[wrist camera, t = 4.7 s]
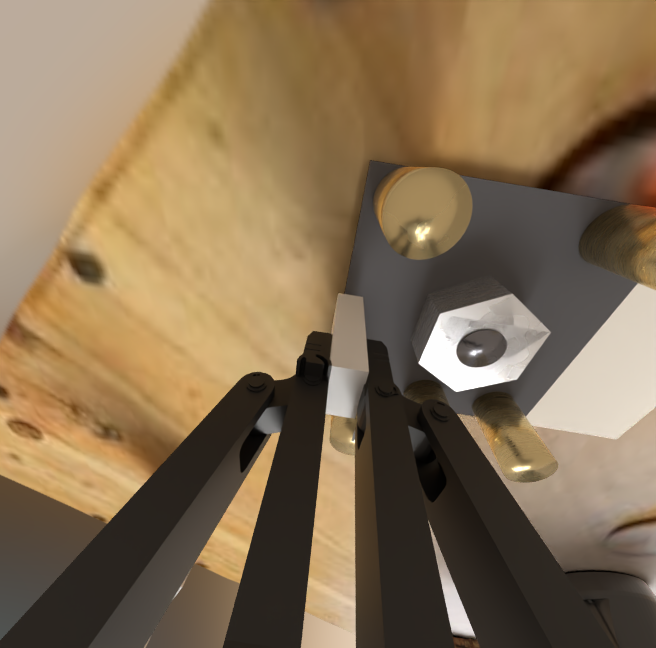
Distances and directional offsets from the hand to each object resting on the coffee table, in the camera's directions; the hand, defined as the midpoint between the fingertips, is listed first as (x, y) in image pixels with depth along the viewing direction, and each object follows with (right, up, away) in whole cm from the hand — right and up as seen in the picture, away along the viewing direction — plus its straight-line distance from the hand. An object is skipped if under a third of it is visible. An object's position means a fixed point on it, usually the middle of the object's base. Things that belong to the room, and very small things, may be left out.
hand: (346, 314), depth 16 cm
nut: (+8, -1, +1) cm, 8 cm away
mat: (+12, -1, +1) cm, 12 cm away
